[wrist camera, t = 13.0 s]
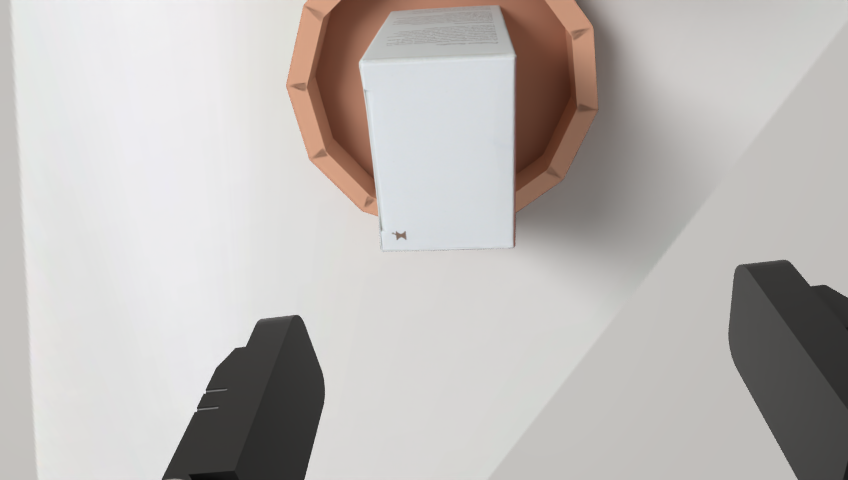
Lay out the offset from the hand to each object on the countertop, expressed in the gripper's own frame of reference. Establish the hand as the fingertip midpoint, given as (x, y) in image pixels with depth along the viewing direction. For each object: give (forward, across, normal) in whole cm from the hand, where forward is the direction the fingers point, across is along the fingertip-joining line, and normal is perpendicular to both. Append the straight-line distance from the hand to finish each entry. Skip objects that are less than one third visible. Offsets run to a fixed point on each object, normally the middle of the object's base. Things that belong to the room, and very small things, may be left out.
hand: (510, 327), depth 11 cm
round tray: (+23, +2, +2) cm, 23 cm away
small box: (+22, +2, +2) cm, 23 cm away
